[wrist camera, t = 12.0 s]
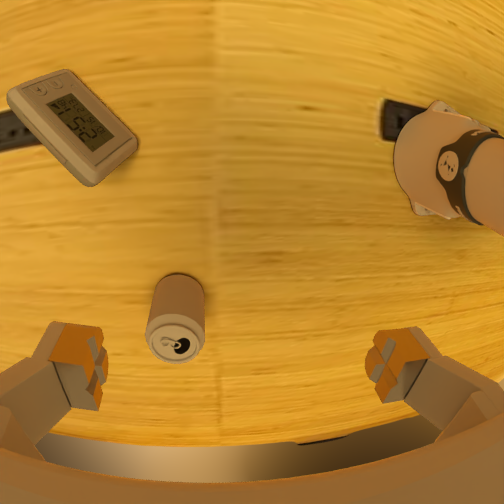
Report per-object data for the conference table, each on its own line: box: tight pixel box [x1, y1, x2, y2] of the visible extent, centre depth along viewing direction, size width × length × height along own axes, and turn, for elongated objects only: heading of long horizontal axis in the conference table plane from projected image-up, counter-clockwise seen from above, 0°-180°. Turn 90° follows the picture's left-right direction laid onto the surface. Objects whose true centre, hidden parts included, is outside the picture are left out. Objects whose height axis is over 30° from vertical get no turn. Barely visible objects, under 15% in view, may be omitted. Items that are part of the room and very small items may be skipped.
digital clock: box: [7, 69, 138, 187], centre depth 30 cm, size 16×9×11 cm, turn 30°
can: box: [145, 275, 205, 364], centre depth 42 cm, size 8×8×12 cm
